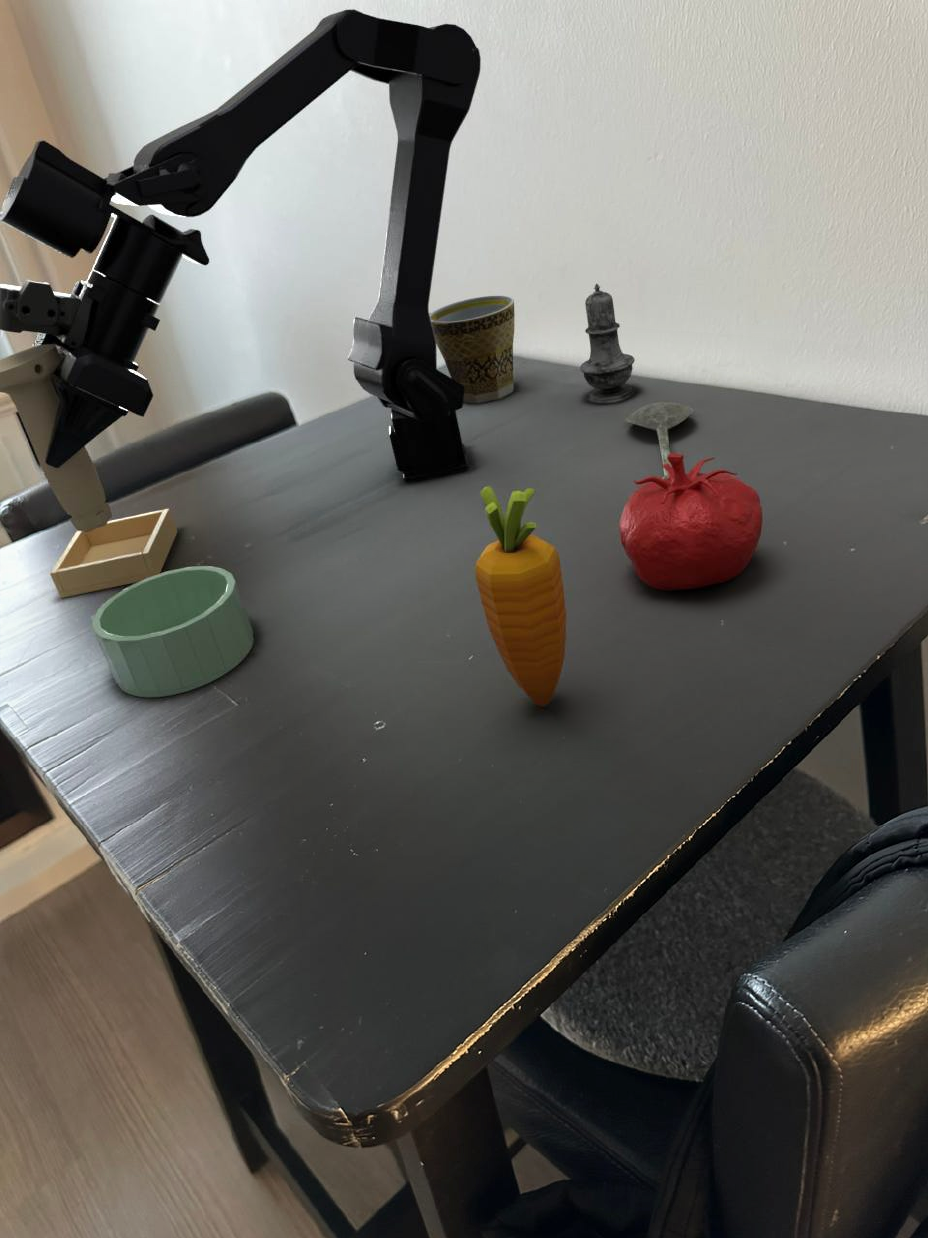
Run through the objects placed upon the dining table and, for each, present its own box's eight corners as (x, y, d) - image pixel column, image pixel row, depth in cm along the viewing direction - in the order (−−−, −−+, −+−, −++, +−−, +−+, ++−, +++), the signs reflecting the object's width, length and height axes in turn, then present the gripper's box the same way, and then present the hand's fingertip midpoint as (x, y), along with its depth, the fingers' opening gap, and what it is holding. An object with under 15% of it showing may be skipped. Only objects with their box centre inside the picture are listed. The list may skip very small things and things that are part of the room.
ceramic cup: (545, 381, 120) (531, 295, 115) (489, 412, 115) (472, 323, 110) (466, 374, 129) (450, 294, 124) (410, 403, 123) (391, 320, 118)
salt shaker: (636, 400, 108) (623, 286, 103) (581, 407, 110) (565, 295, 104) (639, 382, 113) (627, 272, 107) (586, 389, 115) (571, 280, 109)
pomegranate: (769, 599, 70) (762, 473, 65) (622, 610, 72) (605, 490, 68) (760, 533, 78) (754, 418, 73) (628, 545, 81) (614, 434, 76)
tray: (177, 531, 102) (169, 508, 101) (158, 577, 93) (148, 552, 92) (88, 550, 103) (78, 527, 101) (60, 598, 94) (49, 573, 92)
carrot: (500, 692, 67) (454, 480, 59) (575, 676, 66) (539, 462, 59) (509, 736, 62) (461, 514, 55) (590, 720, 62) (552, 494, 55)
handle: (140, 508, 90) (66, 343, 82) (82, 545, 86) (-1, 375, 78) (107, 505, 93) (32, 344, 85) (49, 540, 89) (-34, 375, 81)
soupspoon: (694, 417, 103) (629, 429, 105) (690, 384, 102) (624, 397, 103) (709, 501, 84) (628, 514, 86) (703, 463, 83) (622, 477, 84)
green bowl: (261, 608, 84) (242, 555, 81) (245, 680, 74) (224, 621, 72) (133, 635, 84) (111, 582, 82) (101, 709, 75) (75, 652, 72)
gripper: (11, 229, 86) (-62, 397, 88) (46, 242, 71) (-44, 445, 73) (135, 295, 93) (64, 450, 95) (190, 320, 78) (105, 504, 80)
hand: (47, 460), depth 85 cm, fingers closed on handle, 3 cm apart
